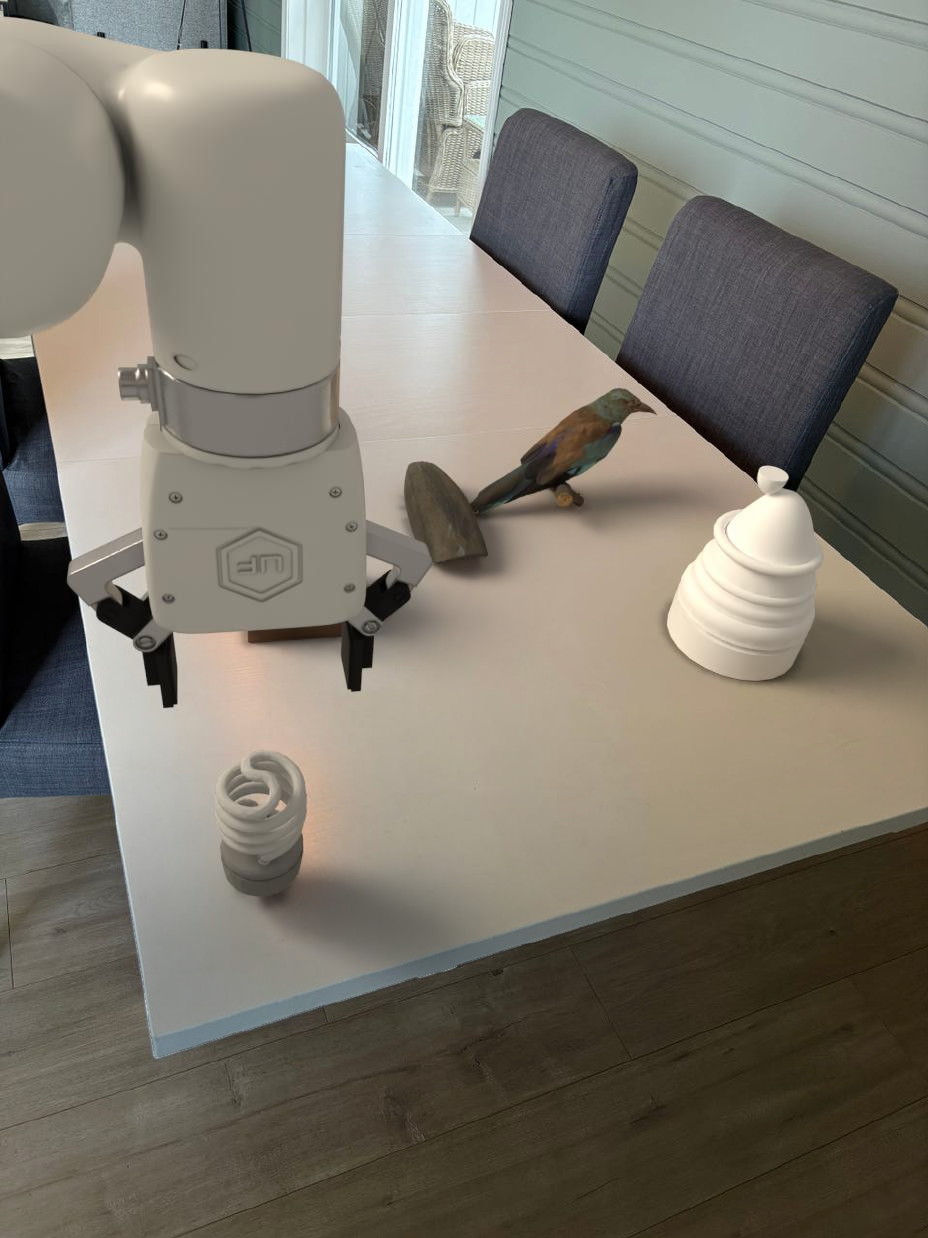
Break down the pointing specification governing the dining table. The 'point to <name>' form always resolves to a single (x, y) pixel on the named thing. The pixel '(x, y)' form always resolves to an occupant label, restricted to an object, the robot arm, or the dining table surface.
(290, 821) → the light bulb
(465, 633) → the dining table surface
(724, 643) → the honey pot
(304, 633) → the base block
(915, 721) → the dining table surface
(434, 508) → the decorative stone
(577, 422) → the bird figurine
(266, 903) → the dining table surface
